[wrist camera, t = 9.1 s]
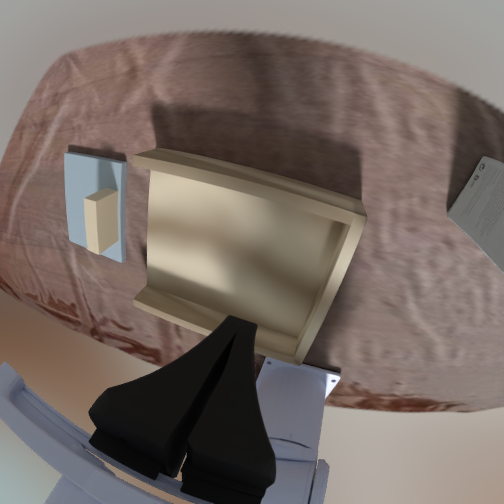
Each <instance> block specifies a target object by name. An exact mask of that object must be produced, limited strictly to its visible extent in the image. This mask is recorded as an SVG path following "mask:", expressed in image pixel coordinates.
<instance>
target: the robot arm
mask: <svg viewBox="0 0 504 504" xmlns="http://www.w3.org/2000/svg"><path fill="white" fill-rule="evenodd" d="M257 328H258V326H257V324H256V323H253V322H250V321H247V320H244V319H241V318H238V317H235V316H232V315H229V316H227V317H226V318H225V319H224V321H223V322H222V323H221V324H220V325H219V326H218V327H217V328H216V329H215V330H214V331H213V332H212V333H211V334H209V335H208V336H207V337H206V338H205V339H204V340H202V341H201V342H200V343H199V344H198V345H196V346H195V347H194V348H192V349H191V350H189V351H188V352H187V353H185V354H184V355H182V356H181V357H179V358H178V359H176V360H175V361H173V362H171V363H170V364H168V365H166V366H164V367H162V368H160V369H159V370H156V371H154V372H153V373H150V374H148V375H146V376H143V377H140V378H138V379H136V380H133V381H130V382H127V383H124V384H121V385H117V386H114V387H110V388H108V389H107V390H105V391H104V392H103V393H102V395H100V396H99V397H98V399H97V400H96V401H95V403H94V404H93V405H92V407H91V408H90V410H89V412H88V413H89V416H90V418H91V420H92V421H93V423H94V425H95V426H96V428H97V429H96V431H95V432H94V434H93V435H90V434H89V433H87V432H86V431H84V430H83V429H81V428H80V427H78V426H77V425H75V424H74V423H73V422H71V421H70V420H68V419H67V418H66V417H64V416H63V415H62V414H60V413H59V412H58V411H56V410H55V409H54V408H53V407H51V406H50V405H49V404H47V403H46V402H45V401H44V400H43V399H41V398H40V397H39V396H38V395H37V394H35V393H34V392H33V391H32V390H31V389H30V388H29V387H28V386H27V385H26V384H25V382H24V380H23V379H22V378H21V376H20V375H19V374H18V373H17V372H16V371H15V370H14V369H13V368H12V367H11V366H10V365H9V364H8V363H7V362H4V363H3V364H2V365H1V366H0V418H1V419H2V420H3V421H4V422H5V423H6V424H7V425H8V427H9V428H10V429H11V430H12V431H13V432H14V433H15V434H16V435H17V436H18V437H19V438H20V439H21V440H22V441H24V443H25V444H27V445H28V446H29V447H30V448H31V449H32V450H33V451H34V452H36V454H38V455H39V456H40V457H41V458H42V459H43V460H45V461H46V462H47V463H48V464H49V465H51V466H52V467H53V468H54V469H56V470H57V471H58V472H59V473H61V474H62V477H61V478H60V480H59V481H58V483H57V484H56V486H55V488H54V489H53V491H52V492H51V494H50V495H49V497H48V499H47V500H46V502H45V503H44V504H173V503H170V502H168V501H166V500H163V499H161V498H159V497H157V496H154V495H152V494H150V493H148V492H146V491H144V490H142V489H140V488H138V487H136V486H134V485H132V484H130V483H128V482H126V481H124V480H122V479H120V478H118V477H116V476H115V474H114V473H113V472H112V471H111V470H109V469H108V468H107V467H106V466H105V464H104V463H103V462H102V461H101V460H99V459H98V458H96V457H95V456H94V455H92V454H91V453H93V454H95V455H96V456H98V457H99V458H101V459H103V460H104V461H106V462H107V463H109V464H111V465H113V466H114V467H116V468H118V469H120V470H122V471H123V472H125V473H127V474H129V475H131V476H133V477H135V478H137V479H139V480H141V481H143V482H145V483H147V484H149V485H151V486H153V487H155V488H158V489H160V490H162V491H164V492H167V493H169V494H171V495H174V496H176V497H179V498H181V499H184V500H186V501H189V502H192V503H195V504H323V502H324V497H325V492H326V487H327V481H328V474H329V465H328V464H327V463H325V460H324V459H319V460H318V465H317V456H318V445H319V439H320V433H321V426H322V419H323V411H324V403H325V398H326V397H327V396H328V395H329V393H330V392H331V391H332V389H333V388H334V387H335V385H336V384H337V383H338V381H339V380H340V378H341V375H340V374H339V373H336V372H332V371H328V370H324V369H321V368H317V367H313V366H309V365H306V364H301V365H300V366H297V365H293V364H290V363H286V362H283V361H280V360H276V359H273V358H270V357H267V356H266V358H265V361H264V363H263V366H262V369H261V371H260V374H259V376H258V379H257V381H255V368H254V346H255V336H256V331H257ZM269 361H270V362H269ZM333 379H334V380H333ZM85 449H87V450H88V451H90V452H91V453H90V452H88V451H87V450H85ZM186 453H187V457H186V459H185V462H184V464H183V466H182V468H181V470H180V467H181V465H182V463H183V460H184V458H185V455H186ZM316 466H317V469H316ZM179 470H180V471H181V472H182V481H178V480H176V479H173V478H175V477H177V475H178V472H179Z"/></svg>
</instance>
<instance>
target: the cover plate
mask: <svg viewBox="0 0 504 504" xmlns="http://www.w3.org/2000/svg"><path fill="white" fill-rule="evenodd" d="M126 171H127V162H125V161H120V160H115V159H109V158H104V157H99V156H93V155H88V154H82V153H76V152H70V151H69V152H66V153H65V195H66V210H67V221H68V231H69V239H70V241H72V242H74V243H76V244H78V245H81V246H83V247H85V248H87V249H88V250H89V251H91V252H94V253H96V254H98V255H100V254H101V255H104V256H106V257H108V258H111V259H113V260H115V261H118V262H120V263H123V262H124V261H125V260H126V248H125V194H126Z"/></svg>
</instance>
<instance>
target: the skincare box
mask: <svg viewBox="0 0 504 504" xmlns="http://www.w3.org/2000/svg"><path fill="white" fill-rule="evenodd" d="M447 217H448V218H449V219H450V220H451V221H453V222H454V223H455V224H456V225H457V226H458V227H459V228H460V229H461V230H462V231H463V232H464V233H465V234H466V235H467V236H468V237H470V238H471V239H472V240H473V241H474V242H475V243H476V245H477V246H478V247H479V248H480V249H481V250H482V251H483V252H484V253H485V254H486V255H487V256H488V257H489V259H490V260H491V261H492V262H493V263H494V264H495V265H496V266H497V268H498V269H499V270H500V271H501V272H502V273H503V274H504V163H503V162H500V161H498V160H495V159H492V158H489V157H486V156H483V157H482V159H481V160H480V162H479V164H478V165H477V167H476V169H475V171H474V173H473V174H472V176H471V178H470V179H469V181H468V182H467V184H466V186H465V187H464V189H463V190H462V191H461V193H460V195H459V196H458V198H457V199H456V201H455V202H454V204H453V205H452V207H451V208H450V210H449V211H448V213H447Z"/></svg>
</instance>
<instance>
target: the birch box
mask: <svg viewBox="0 0 504 504" xmlns="http://www.w3.org/2000/svg"><path fill="white" fill-rule="evenodd" d="M133 166H134V167H139V168H144V169H148V170H151V175H150V189H149V205H148V230H147V285H146V286H145V287H144V288H143V289H142V291H141V292H140V293H139V294H138V295H137V296H136V297H135V298H134V299H133V303H134V306H136V307H138V308H140V309H142V310H144V311H147V312H149V313H151V314H154V315H156V316H158V317H161V318H163V319H165V320H168V321H170V322H173V323H175V324H178V325H180V326H183V327H185V328H188V329H190V330H193V331H195V332H198V333H200V334H203V335H206V336H208V335H209V334H211V333H212V332H213V331H214V330H215V329H216V328H217V327H218V326H219V325H220V324H221V323H222V322H223V321H224V319H225V318H226V317H227V316H229V315H232V316H235V317H238V318H241V319H244V320H247V321H250V322H253V323H256V324H257V326H258V328H257V331H256V336H255V346H254V353H257V354H260V355H263V356H267V357H270V358H273V359H276V360H280V361H283V362H286V363H290V364H293V365H297V366H300V365H301V364H302V362H303V360H304V358H305V356H306V354H307V352H308V350H309V348H310V347H311V345H312V343H313V341H314V339H315V337H316V335H317V333H318V331H319V329H320V327H321V325H322V323H323V321H324V319H325V316H326V314H327V312H328V310H329V308H330V306H331V304H332V302H333V300H334V297H335V295H336V293H337V291H338V289H339V286H340V284H341V282H342V280H343V277H344V275H345V273H346V270H347V268H348V266H349V263H350V261H351V259H352V256H353V254H354V251H355V249H356V246H357V244H358V242H359V239H360V236H361V234H362V231H363V229H364V226H365V224H366V221H367V218H368V217H367V214H366V211H365V208H364V205H363V203H362V201H361V200H359V199H356V198H353V197H350V196H347V195H344V194H341V193H338V192H335V191H331V190H328V189H325V188H322V187H319V186H316V185H312V184H309V183H306V182H302V181H299V180H295V179H292V178H288V177H285V176H281V175H278V174H274V173H270V172H267V171H263V170H259V169H255V168H251V167H247V166H243V165H239V164H235V163H231V162H227V161H223V160H218V159H214V158H209V157H205V156H200V155H195V154H191V153H186V152H181V151H176V150H170V149H165V148H156V149H153V150H149V151H145V152H142V153H139V154H135V155H133Z"/></svg>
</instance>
